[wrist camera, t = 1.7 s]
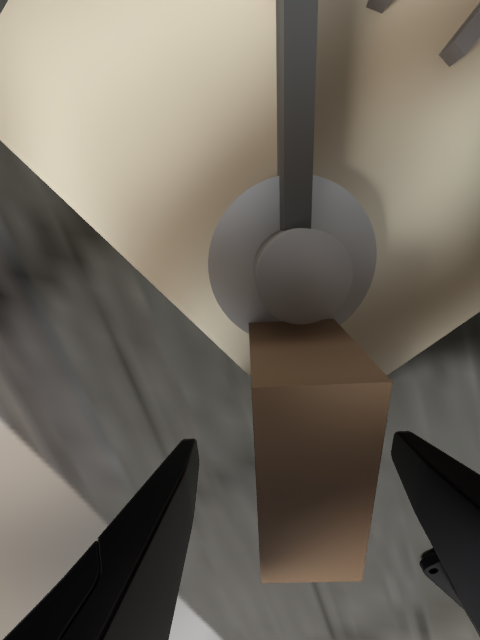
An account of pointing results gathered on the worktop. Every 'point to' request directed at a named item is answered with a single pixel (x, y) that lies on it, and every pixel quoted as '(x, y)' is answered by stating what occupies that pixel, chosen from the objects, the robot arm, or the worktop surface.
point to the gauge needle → (304, 337)
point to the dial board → (258, 140)
